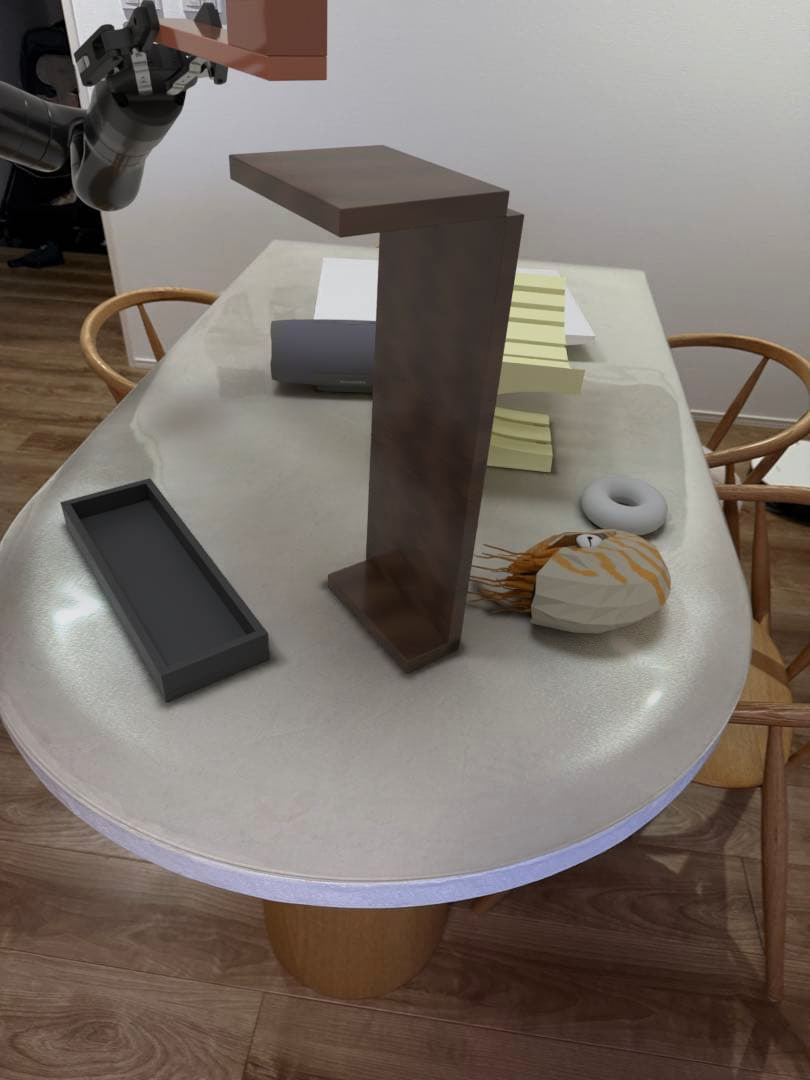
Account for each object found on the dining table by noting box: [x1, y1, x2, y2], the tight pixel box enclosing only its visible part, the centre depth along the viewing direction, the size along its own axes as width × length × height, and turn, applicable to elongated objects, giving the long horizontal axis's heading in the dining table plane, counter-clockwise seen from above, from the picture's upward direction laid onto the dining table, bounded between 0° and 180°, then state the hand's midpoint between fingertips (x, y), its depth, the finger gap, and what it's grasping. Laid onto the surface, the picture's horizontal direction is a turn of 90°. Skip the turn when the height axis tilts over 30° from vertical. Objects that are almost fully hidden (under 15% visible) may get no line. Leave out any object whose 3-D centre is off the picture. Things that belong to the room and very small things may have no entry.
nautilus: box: [467, 528, 672, 635], centre depth 75 cm, size 8×22×15 cm
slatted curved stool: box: [487, 273, 586, 473], centre depth 97 cm, size 30×16×18 cm, turn 174°
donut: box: [580, 474, 669, 536], centre depth 89 cm, size 10×4×10 cm
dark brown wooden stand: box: [228, 144, 525, 674], centre depth 60 cm, size 14×14×40 cm
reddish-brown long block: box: [154, 0, 328, 82], centre depth 57 cm, size 24×4×5 cm, turn 35°
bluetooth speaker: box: [269, 318, 376, 394], centre depth 110 cm, size 23×9×10 cm, turn 94°
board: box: [313, 257, 596, 346], centre depth 135 cm, size 45×32×5 cm
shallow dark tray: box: [60, 477, 270, 703], centre depth 74 cm, size 29×10×3 cm, turn 35°
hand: (183, 14), depth 61 cm, fingers closed on reddish-brown long block, 4 cm apart
